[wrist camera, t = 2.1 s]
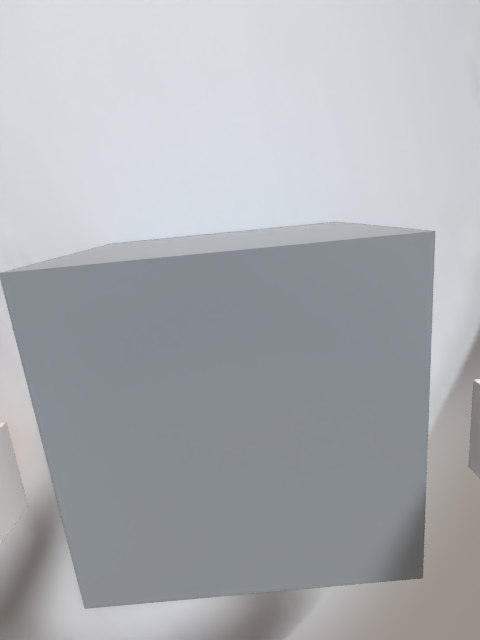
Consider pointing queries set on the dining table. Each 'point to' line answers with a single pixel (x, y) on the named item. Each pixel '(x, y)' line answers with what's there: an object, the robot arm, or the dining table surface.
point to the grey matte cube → (234, 407)
